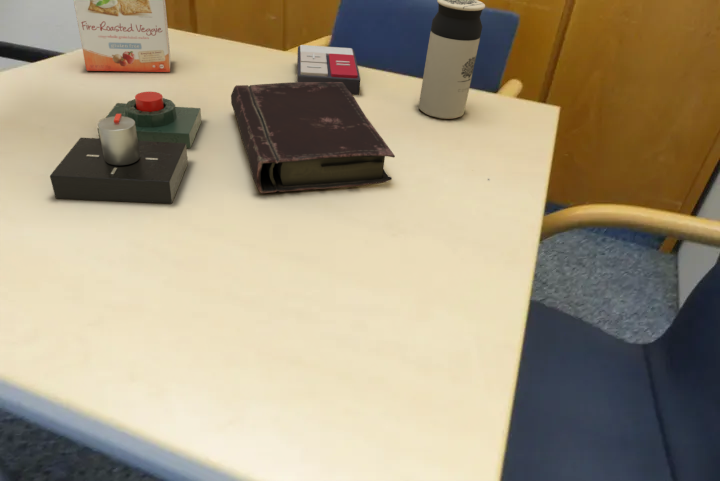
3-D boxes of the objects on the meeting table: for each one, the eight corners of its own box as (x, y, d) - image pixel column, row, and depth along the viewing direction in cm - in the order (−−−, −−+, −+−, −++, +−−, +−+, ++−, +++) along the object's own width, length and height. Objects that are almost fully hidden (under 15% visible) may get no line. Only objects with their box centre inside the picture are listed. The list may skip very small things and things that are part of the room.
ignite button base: (100, 143, 75) (94, 115, 73) (119, 116, 83) (114, 90, 80) (190, 148, 77) (188, 121, 74) (201, 121, 84) (199, 96, 82)
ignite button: (133, 112, 76) (131, 100, 75) (140, 102, 79) (138, 90, 78) (160, 114, 76) (159, 101, 75) (166, 104, 79) (165, 92, 78)
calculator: (297, 71, 95) (297, 41, 107) (297, 95, 98) (297, 63, 110) (361, 75, 97) (354, 45, 108) (358, 98, 99) (352, 66, 111)
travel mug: (408, 106, 97) (425, -4, 86) (441, 99, 101) (460, -6, 91) (440, 123, 92) (462, 9, 82) (473, 115, 96) (497, 6, 86)
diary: (254, 196, 68) (254, 159, 65) (231, 114, 87) (230, 83, 84) (396, 185, 74) (401, 151, 71) (345, 110, 93) (347, 81, 90)
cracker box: (86, 73, 96) (59, -64, 84) (90, 61, 100) (66, -70, 88) (171, 73, 99) (157, -58, 87) (172, 62, 104) (159, -64, 92)
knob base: (55, 198, 64) (49, 174, 62) (85, 158, 72) (80, 136, 70) (171, 203, 65) (169, 180, 63) (188, 163, 73) (185, 141, 71)
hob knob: (138, 165, 65) (132, 127, 63) (101, 166, 65) (94, 127, 62) (142, 150, 69) (136, 113, 66) (107, 150, 68) (100, 113, 65)
